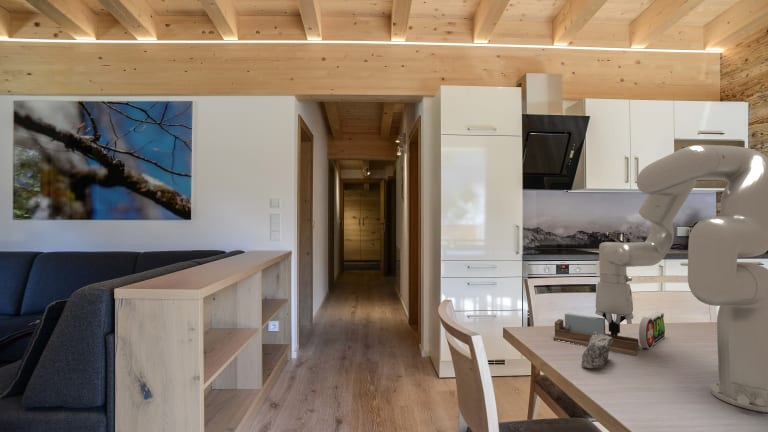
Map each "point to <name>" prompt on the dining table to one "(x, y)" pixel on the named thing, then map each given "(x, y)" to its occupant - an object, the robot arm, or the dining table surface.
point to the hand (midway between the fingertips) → (614, 334)
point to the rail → (564, 334)
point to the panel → (585, 324)
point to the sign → (651, 330)
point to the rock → (596, 351)
